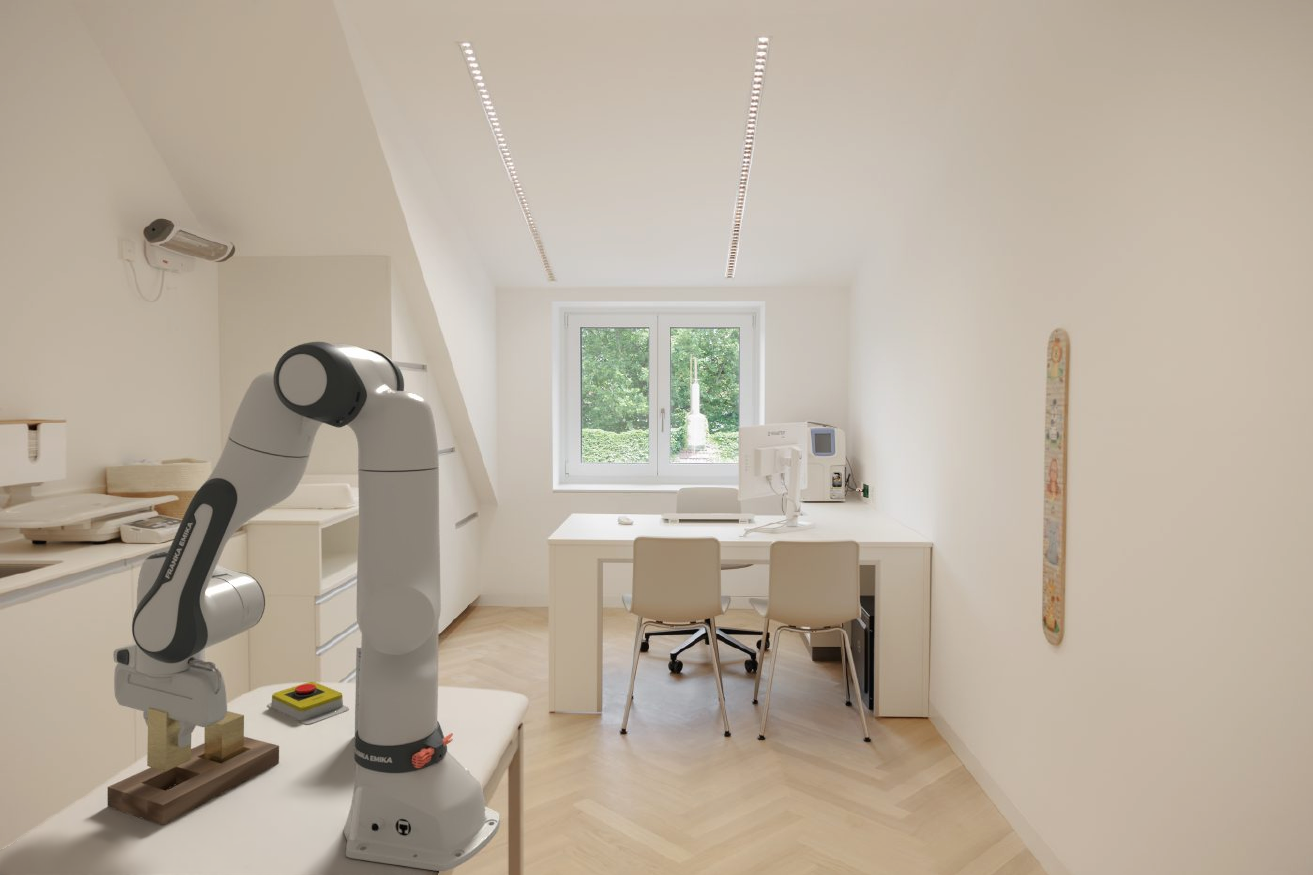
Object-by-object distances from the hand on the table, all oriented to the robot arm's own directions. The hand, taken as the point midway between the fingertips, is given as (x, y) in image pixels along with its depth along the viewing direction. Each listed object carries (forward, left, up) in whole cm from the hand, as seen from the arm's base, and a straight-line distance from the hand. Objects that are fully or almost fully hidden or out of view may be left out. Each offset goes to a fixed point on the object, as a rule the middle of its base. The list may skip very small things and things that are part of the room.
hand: (170, 741), depth 111 cm
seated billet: (0, -9, -9) cm, 13 cm away
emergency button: (+7, -33, -10) cm, 35 cm away
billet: (0, 0, -3) cm, 3 cm away
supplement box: (-14, -33, -9) cm, 37 cm away
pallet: (0, -5, -9) cm, 10 cm away
